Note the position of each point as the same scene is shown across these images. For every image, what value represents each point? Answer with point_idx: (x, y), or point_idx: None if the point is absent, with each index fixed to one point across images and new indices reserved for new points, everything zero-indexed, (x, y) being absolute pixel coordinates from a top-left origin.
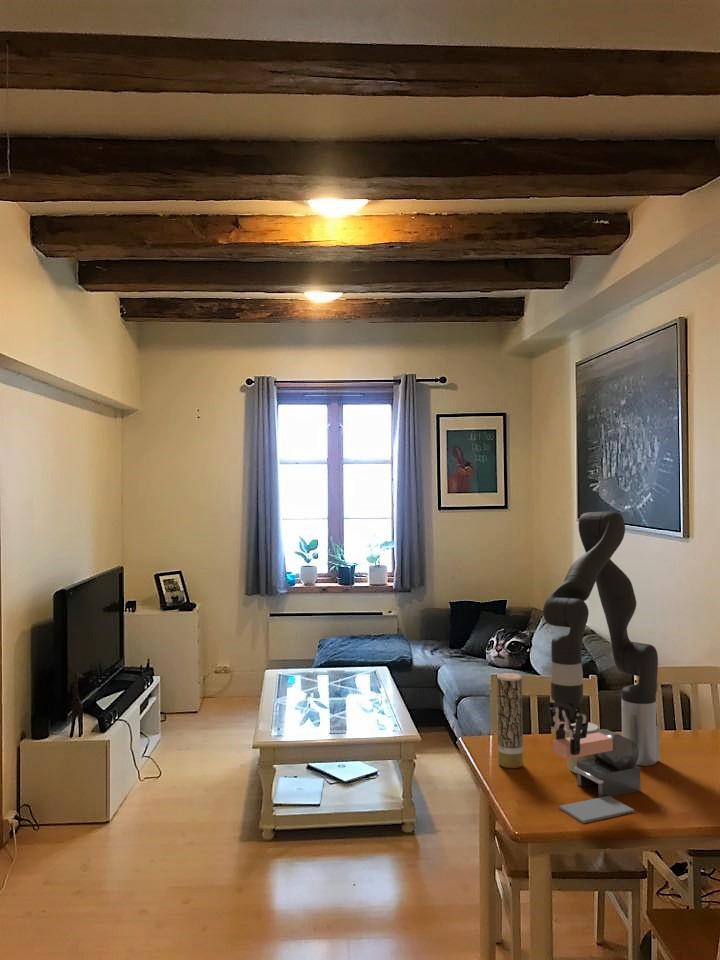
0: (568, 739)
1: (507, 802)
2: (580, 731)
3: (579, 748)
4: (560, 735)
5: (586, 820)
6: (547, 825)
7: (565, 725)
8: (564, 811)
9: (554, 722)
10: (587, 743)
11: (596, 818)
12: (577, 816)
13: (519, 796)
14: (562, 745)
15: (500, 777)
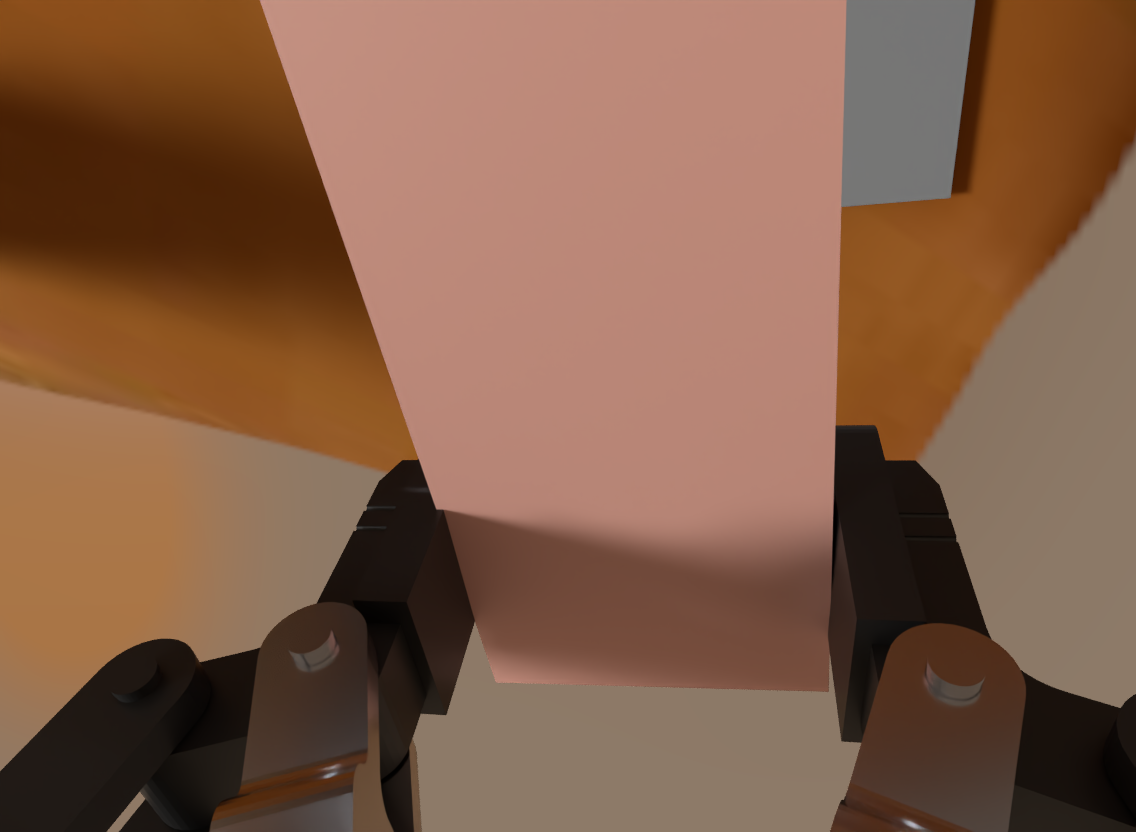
0: (520, 502)
1: None
2: (1012, 788)
3: (946, 524)
4: (451, 634)
5: (952, 160)
6: (842, 419)
7: (373, 727)
8: None
9: (212, 817)
10: (836, 288)
11: (965, 48)
12: (862, 195)
13: (374, 357)
14: (734, 679)
15: (48, 317)
